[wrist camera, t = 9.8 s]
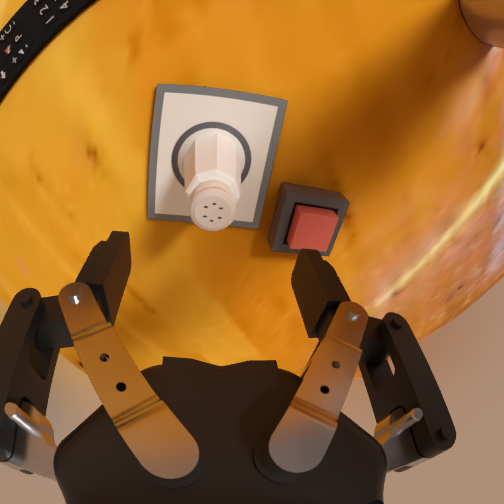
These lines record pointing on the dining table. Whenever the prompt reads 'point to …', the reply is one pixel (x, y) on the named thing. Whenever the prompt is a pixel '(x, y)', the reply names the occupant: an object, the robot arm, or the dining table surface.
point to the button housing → (308, 197)
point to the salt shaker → (212, 181)
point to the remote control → (32, 34)
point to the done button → (311, 228)
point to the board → (204, 124)
